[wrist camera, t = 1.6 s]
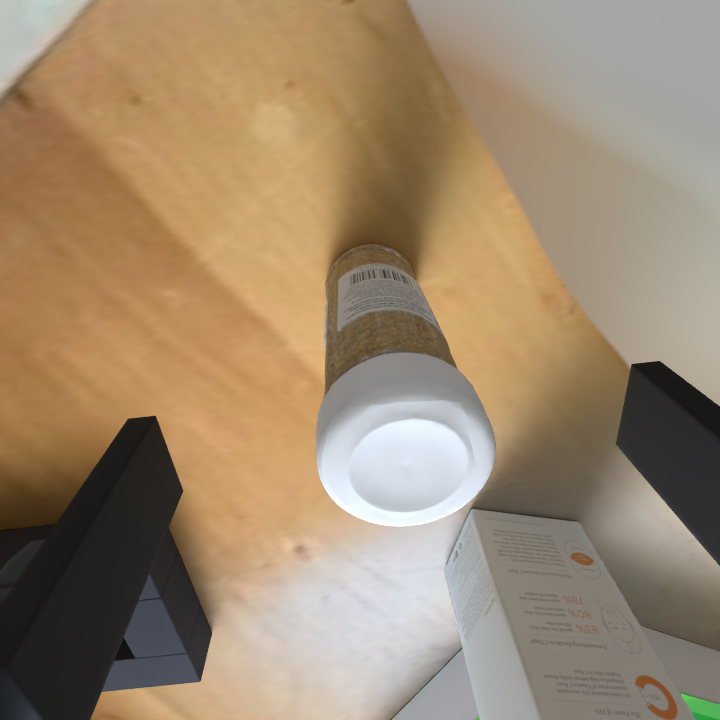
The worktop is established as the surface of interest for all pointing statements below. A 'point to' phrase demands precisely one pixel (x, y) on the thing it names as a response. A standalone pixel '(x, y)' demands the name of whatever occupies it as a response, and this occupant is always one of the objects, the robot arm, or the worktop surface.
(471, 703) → the green board game box
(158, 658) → the dark grey square frame
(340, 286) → the sprinkles bottle
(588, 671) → the small box
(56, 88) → the worktop surface
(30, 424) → the worktop surface
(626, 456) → the robot arm
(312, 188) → the worktop surface
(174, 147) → the worktop surface
